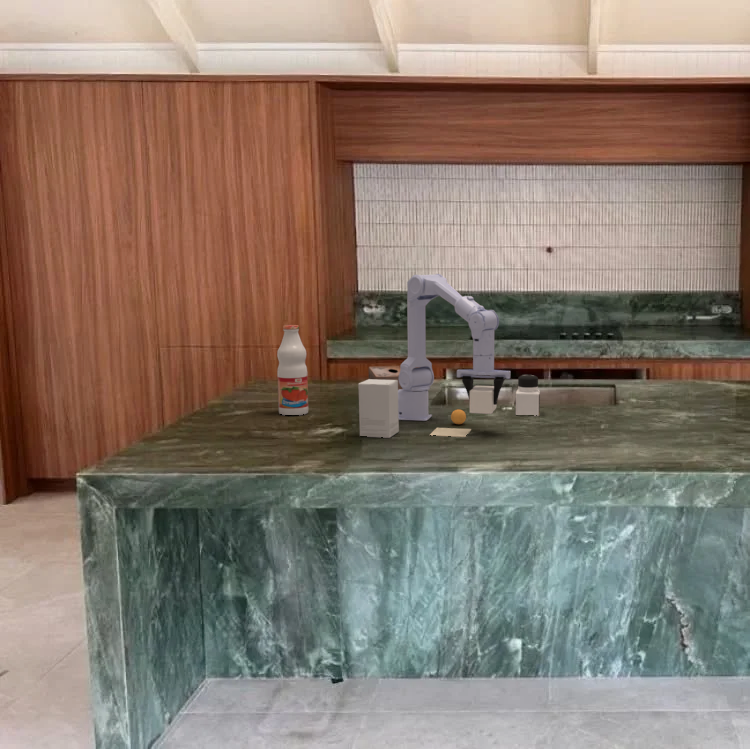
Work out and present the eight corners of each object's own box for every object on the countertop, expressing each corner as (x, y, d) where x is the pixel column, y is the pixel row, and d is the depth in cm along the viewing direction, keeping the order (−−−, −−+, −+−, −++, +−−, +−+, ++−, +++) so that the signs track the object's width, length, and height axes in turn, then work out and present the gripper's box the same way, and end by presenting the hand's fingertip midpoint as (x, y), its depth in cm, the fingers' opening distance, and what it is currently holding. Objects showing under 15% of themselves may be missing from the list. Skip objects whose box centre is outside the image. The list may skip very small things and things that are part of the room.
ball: (449, 425, 248) (449, 410, 247) (452, 422, 252) (452, 407, 251) (464, 426, 246) (464, 411, 246) (467, 423, 250) (467, 408, 250)
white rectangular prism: (491, 413, 230) (491, 391, 229) (469, 412, 231) (469, 391, 231) (496, 407, 239) (496, 386, 238) (475, 406, 241) (475, 385, 240)
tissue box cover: (368, 394, 306) (368, 366, 305) (408, 392, 308) (408, 365, 306) (376, 406, 281) (376, 376, 280) (419, 405, 282) (419, 375, 281)
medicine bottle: (539, 416, 259) (539, 377, 257) (515, 415, 260) (515, 377, 259) (539, 412, 266) (540, 374, 264) (516, 411, 267) (516, 373, 266)
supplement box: (399, 432, 240) (399, 379, 238) (389, 438, 231) (389, 384, 229) (369, 430, 243) (368, 378, 241) (358, 436, 234) (357, 383, 232)
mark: (429, 435, 234) (429, 434, 234) (436, 428, 244) (436, 427, 244) (465, 437, 231) (465, 436, 231) (471, 429, 241) (471, 429, 241)
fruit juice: (303, 409, 276) (300, 323, 272) (312, 414, 267) (310, 325, 263) (275, 412, 272) (272, 325, 268) (283, 417, 263) (280, 327, 259)
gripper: (454, 355, 231) (454, 405, 233) (508, 357, 227) (507, 407, 229) (459, 352, 238) (459, 400, 240) (511, 353, 234) (511, 402, 236)
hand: (483, 403), depth 235 cm, fingers closed on white rectangular prism, 6 cm apart
